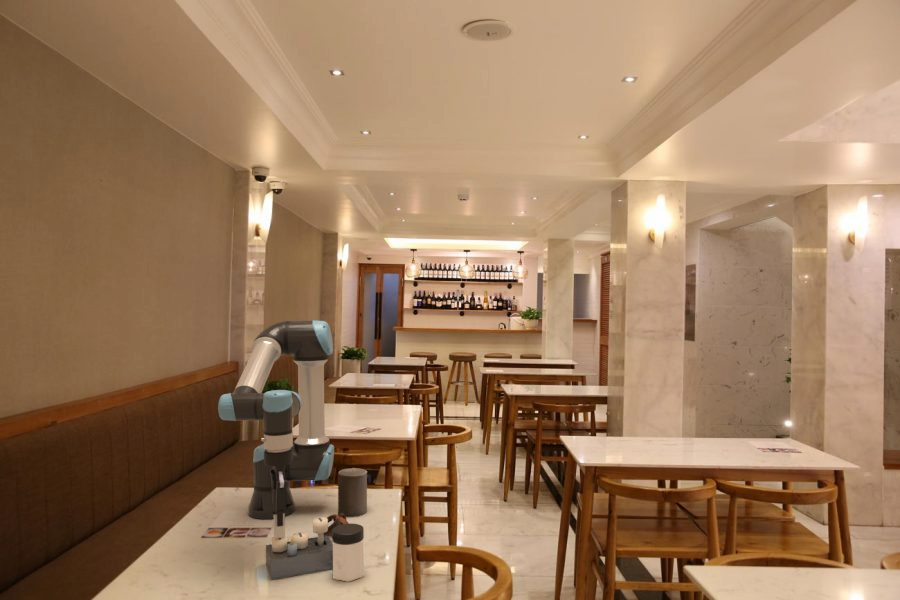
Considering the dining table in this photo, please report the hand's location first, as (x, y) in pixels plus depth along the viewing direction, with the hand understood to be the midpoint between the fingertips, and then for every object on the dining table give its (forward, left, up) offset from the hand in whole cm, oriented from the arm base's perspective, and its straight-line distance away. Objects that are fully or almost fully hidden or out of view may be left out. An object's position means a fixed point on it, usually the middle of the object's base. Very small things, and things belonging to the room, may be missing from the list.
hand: (279, 536), depth 168 cm
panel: (0, +6, -9) cm, 10 cm away
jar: (+11, +16, -9) cm, 21 cm away
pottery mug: (-15, +19, -9) cm, 26 cm away
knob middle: (0, +6, -9) cm, 10 cm away
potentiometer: (+4, +3, -4) cm, 6 cm away
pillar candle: (-35, +29, -9) cm, 46 cm away
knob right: (0, +11, -5) cm, 12 cm away
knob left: (0, 0, -8) cm, 8 cm away
